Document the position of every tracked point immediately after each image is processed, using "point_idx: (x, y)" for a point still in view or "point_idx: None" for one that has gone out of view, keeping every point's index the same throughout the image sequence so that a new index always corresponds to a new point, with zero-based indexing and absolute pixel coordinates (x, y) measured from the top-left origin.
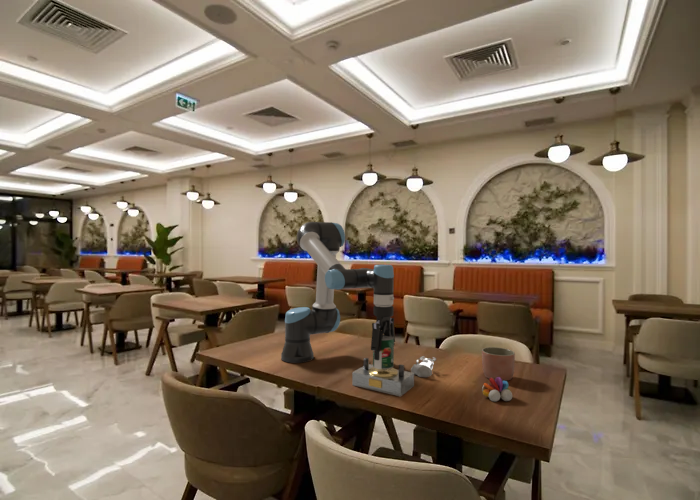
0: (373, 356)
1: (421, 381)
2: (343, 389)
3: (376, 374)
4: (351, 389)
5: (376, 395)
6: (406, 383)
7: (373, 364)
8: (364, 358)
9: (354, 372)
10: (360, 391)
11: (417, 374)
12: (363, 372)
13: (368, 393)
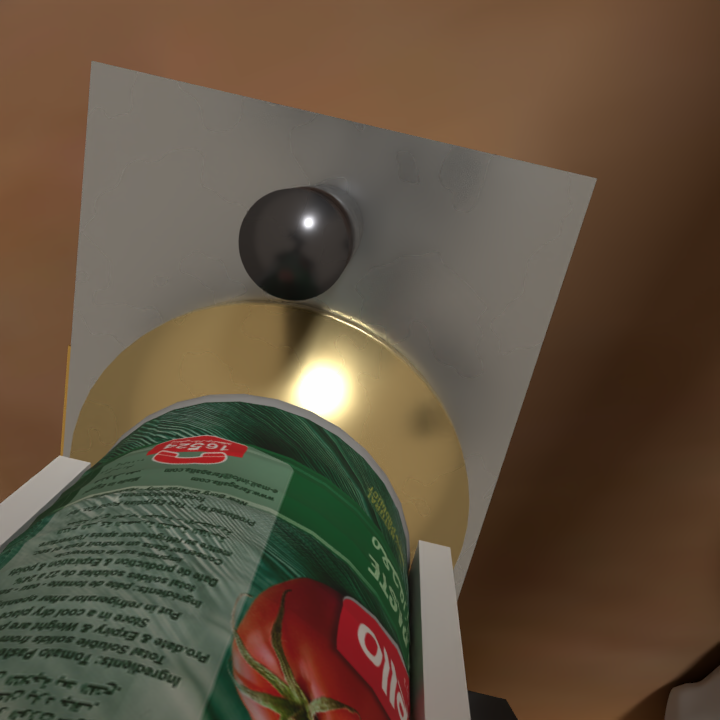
0: (58, 504)
1: (542, 715)
2: (6, 33)
3: (90, 454)
4: (52, 128)
5: (39, 418)
6: None
7: (131, 433)
8: (297, 206)
9: (90, 101)
10: (50, 244)
11: (676, 697)
12: (151, 240)
13: (44, 336)
